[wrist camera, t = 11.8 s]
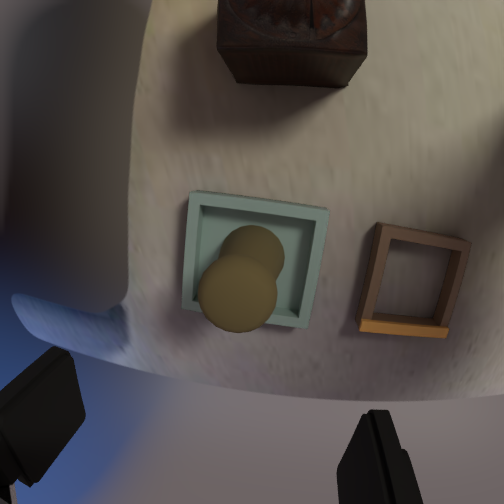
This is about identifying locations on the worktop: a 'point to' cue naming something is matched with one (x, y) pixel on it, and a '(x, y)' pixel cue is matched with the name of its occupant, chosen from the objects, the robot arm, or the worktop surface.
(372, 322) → the holder frame
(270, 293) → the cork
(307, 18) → the brown coffee grinder
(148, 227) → the worktop surface
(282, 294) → the tray
